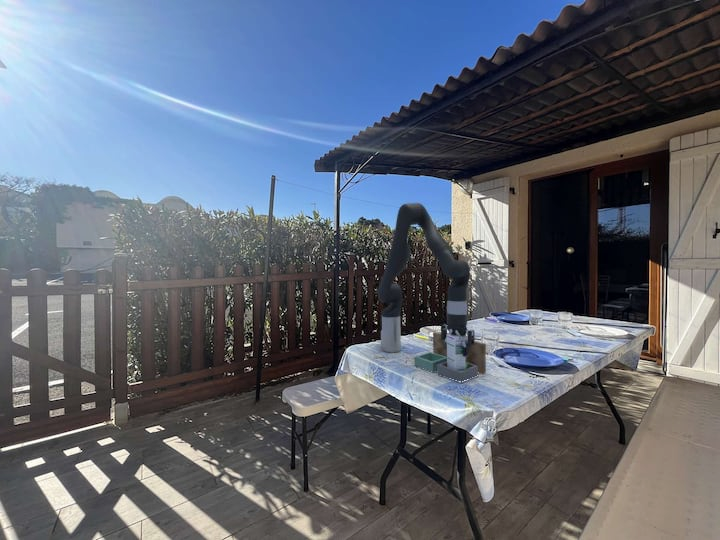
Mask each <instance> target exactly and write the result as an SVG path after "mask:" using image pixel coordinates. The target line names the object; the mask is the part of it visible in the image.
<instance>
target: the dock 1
mask: <svg viewBox="0 0 720 540" xmlns="http://www.w3.org/2000/svg"><path fill="white" fill-rule="evenodd" d="M413 359H414V367H416V366H417V368H419V367H421V368H420V369H422V368H424V369H426V370H425V371H427V370H429V371H428V372H430V371H432V372H431V373H435V371H436V372H437V365H438V364H441V363H443V362H446V361H447V357H445V356H442V355H439V354H435V353H433V351H432V352H431V351H429V352H425V353H423V354H420V355H418V354H417V355H416V356H414V358H413ZM424 369H423V370H424Z"/></svg>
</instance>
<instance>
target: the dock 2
mask: <svg viewBox="0 0 720 540" xmlns="http://www.w3.org/2000/svg"><path fill="white" fill-rule="evenodd" d="M437 374H438V375H437ZM436 375H437V376H439V375H441V376H440V377H442V376H445V377H448V378H451V379H454V380H457V381H461V382H462V381H464V380H467V379H470V378H472V377H475V376H477V375H478V376H479V373H478V366H477V365H474V364H470V363H468V368H467V369H465V370H462V371H458V370H455V369H452V368H449V367H447V361H446V362H443V363H441V364H438V365H437V371H436ZM478 376H477V377H478ZM445 377H444V378H445ZM475 378H476V377H475ZM472 379H473V378H472ZM470 380H471V379H470Z"/></svg>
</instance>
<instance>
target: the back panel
mask: <svg viewBox="0 0 720 540" xmlns="http://www.w3.org/2000/svg"><path fill="white" fill-rule="evenodd" d="M486 346H487V345H486V343H484V342H481V341H478V340H477V341H476V340H474V345H473V346H470V347H469V355H468V356H467V361H468V363H470V364H474V365H477V366H478V372H479V373H478V374H481V373H482V374H481V375H486V374H485V373H486V372H487V361H486V360H487V358H486V357H487V356H486V355H487V353H486V352H487V351H486V349H487V347H486ZM432 347H433V349H432V353H435V354H439V355H442V356H445V357H447V351H446V342H445V340H442V339H441V332H437V331H434V332H432Z"/></svg>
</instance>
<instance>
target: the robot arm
mask: <svg viewBox="0 0 720 540" xmlns="http://www.w3.org/2000/svg"><path fill="white" fill-rule="evenodd" d="M397 211H398V212H397V215H396V223H395V228H394V229H395V230H394V234H393V239H392V241H391V242H392V243H391V246H390V249H389V254H388V258H387V262H386V266H385V269H384V272H383V276H382V278H381V281H380V283H379V286H378V290H377V299H378V301H379V302H380V303H382V304H389V305H388V306H387V307H386V308H384V309H382V310H381V330H380V348H381V350H382V351H383V352H385V353H397V352H401V350H402V343H401V342H402V341H401V339H402V338H401V337H402V336H401V313H402V300H403V299H402V295H403V294H402V288H401V286H400V284H399V283H393V282H394V281H395V279H396V278H397V277H398V276H399V275H400V274H401V273H402V272H403V271H404V270H405V269H406V267H407V265H408V262H409V259H410V256H411V247H410V244H409V241H408V235H409V231H410V228H411V226H414V225H418V227H420V229H421V230H422V231H423V233H424V235H425V240H426V244H427V245H426V246H427V247H428V248H429V251H430V252H431V253H432V254H433V256H434V258H436V260H437V262H438V265H439V266H440V268H441V270H442V273H443V275H445V276H446V277H447V278H448V279H450V280H452V283H451V284H450V285H449V286H448V287H447V303H446V323H444V324H441V325H440V333H441V339H442V340H445V342H446V351H447V335H448V334H453V335H457V336H458V337H459V340H460V341H461V342H462V344H463V346H464V347H463V356H464V357H466V356H468V355H469V347H470V346H473V345H474V341H475V329H471V330H470V329H468V327H467V325H468V302H467V301H468V300H467V288H468V285H469V282H470V281H469V280H470V274H471V270H470V269H471V268H470V266H469V265H470V264H469V263H467V262H466V261H465V260H456V259H455V258H454V256H453V255H454V250H453V248H452V247H451V246H450V244H449V243H448V242H447V241H446V240H445V238H444V237H443V236H442V234H441V233H440V231H439V230H438V229H437V226H436V225H435V223H434V221H433V220H432V217H431V216H430V213H429V212H428V211H427V209H426V207H425V206H424V205H423V204H422V203H420V202H412V203H411V202H409V203H403V204H401V206H400V207H399V208H398V210H397ZM464 335H465V336H467V337H466V338H464V339H463V338H462V337H463V336H464Z"/></svg>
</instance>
